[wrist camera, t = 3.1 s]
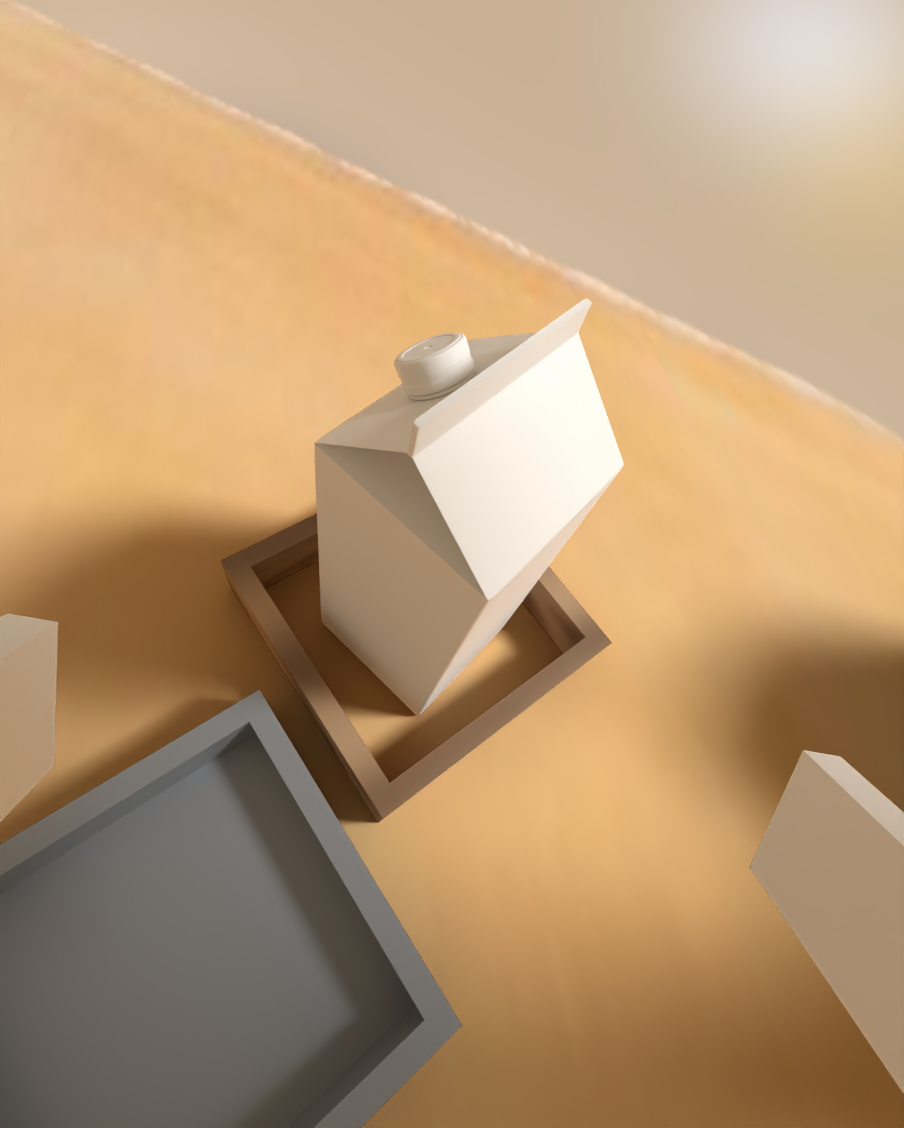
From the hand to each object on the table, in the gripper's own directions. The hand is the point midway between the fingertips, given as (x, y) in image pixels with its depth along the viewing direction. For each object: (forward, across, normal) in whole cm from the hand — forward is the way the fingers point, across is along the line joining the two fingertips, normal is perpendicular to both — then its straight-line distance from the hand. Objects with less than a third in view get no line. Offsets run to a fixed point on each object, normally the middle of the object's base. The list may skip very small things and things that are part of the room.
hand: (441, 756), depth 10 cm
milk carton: (+20, 0, -6) cm, 21 cm away
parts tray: (+9, -6, -18) cm, 21 cm away
